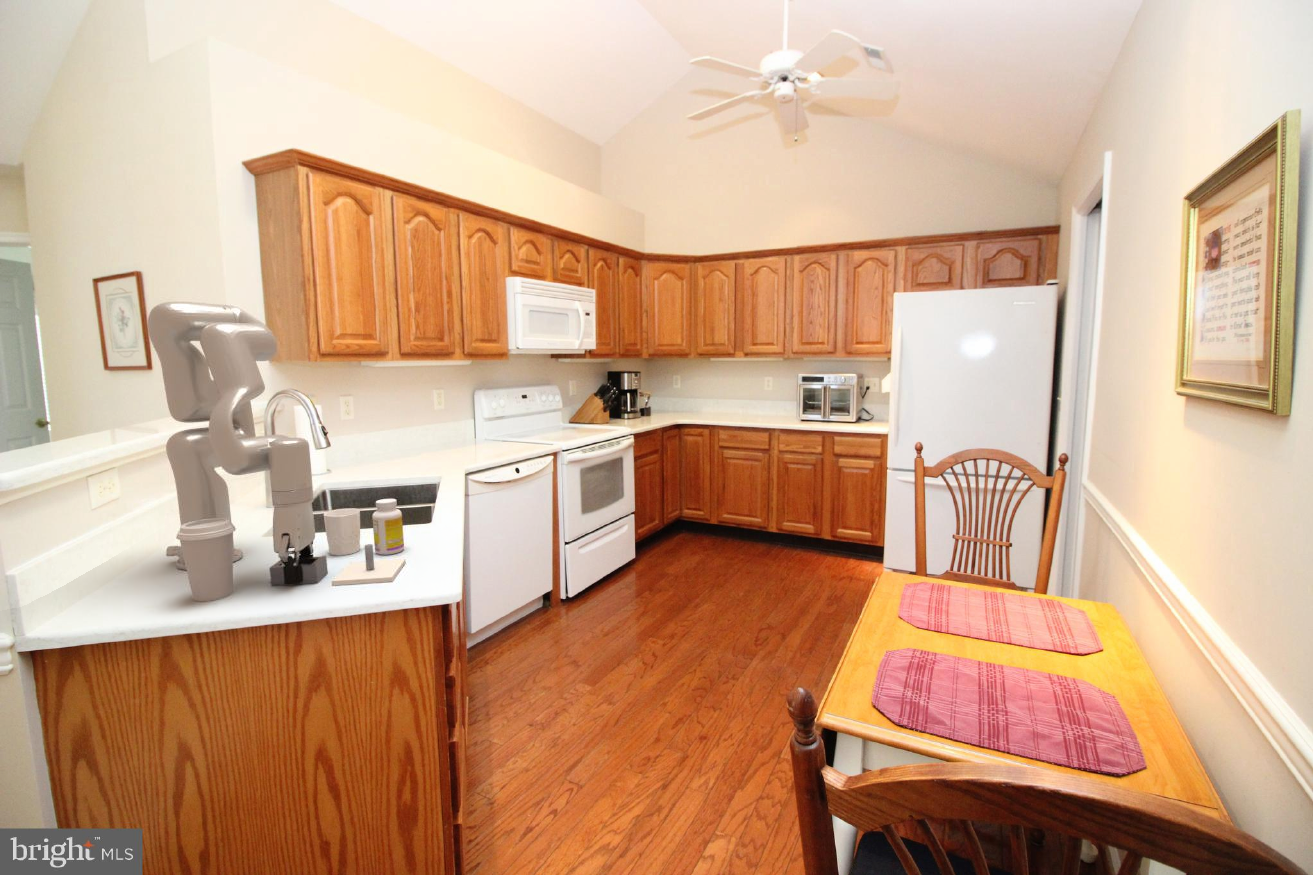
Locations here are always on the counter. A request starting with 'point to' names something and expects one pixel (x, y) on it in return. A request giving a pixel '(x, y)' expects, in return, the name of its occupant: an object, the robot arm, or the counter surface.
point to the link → (310, 570)
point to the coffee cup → (208, 557)
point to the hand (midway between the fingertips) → (300, 577)
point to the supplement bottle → (387, 527)
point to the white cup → (343, 531)
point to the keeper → (369, 570)
